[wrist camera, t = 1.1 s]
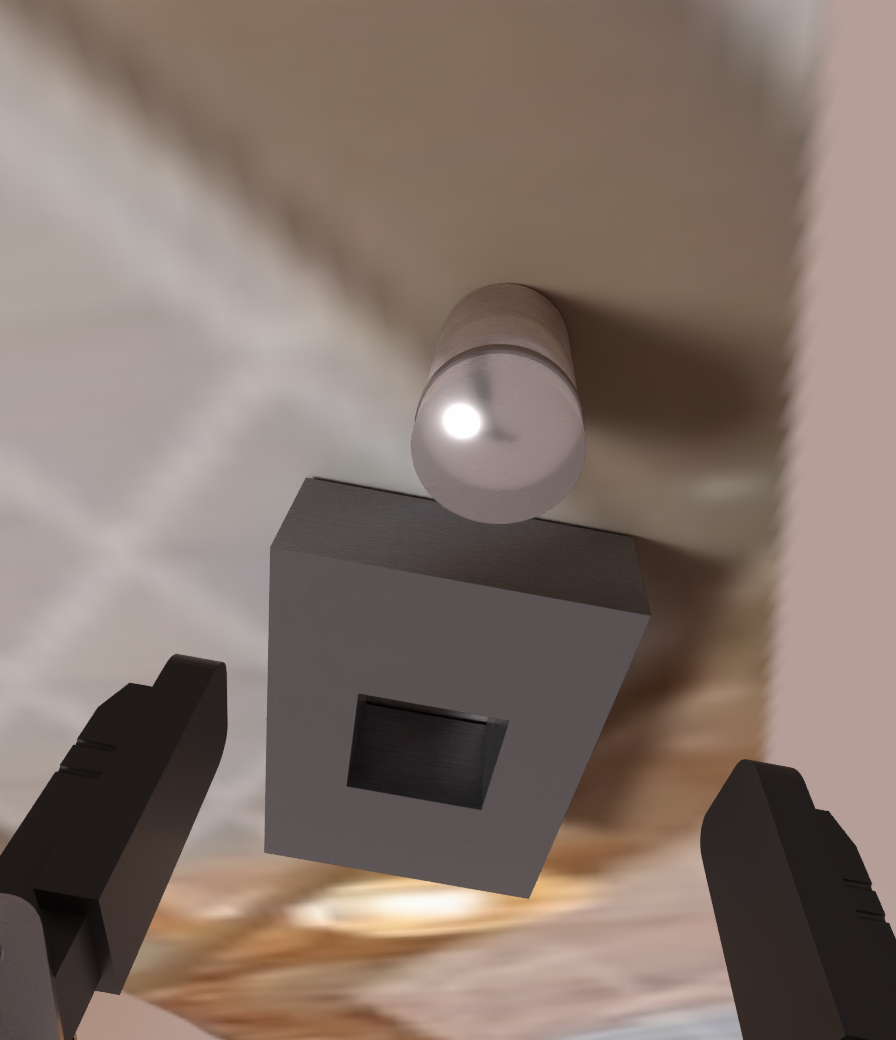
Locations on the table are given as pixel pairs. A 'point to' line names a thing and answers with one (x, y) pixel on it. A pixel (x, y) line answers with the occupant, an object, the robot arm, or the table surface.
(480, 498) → the piston
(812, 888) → the robot arm
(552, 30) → the table surface
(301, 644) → the grey block with hole
